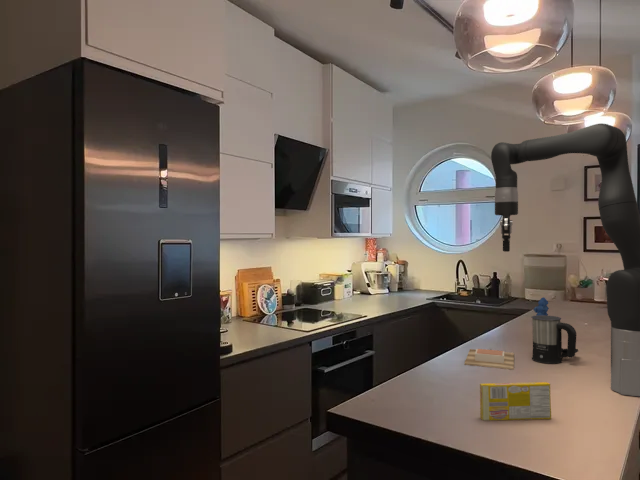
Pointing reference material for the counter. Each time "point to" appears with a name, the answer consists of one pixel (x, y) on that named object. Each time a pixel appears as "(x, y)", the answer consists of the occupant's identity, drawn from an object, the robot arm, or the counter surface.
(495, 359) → the card box
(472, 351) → the mat
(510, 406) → the candy box
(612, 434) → the counter surface
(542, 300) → the grapes
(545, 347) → the milk frother
